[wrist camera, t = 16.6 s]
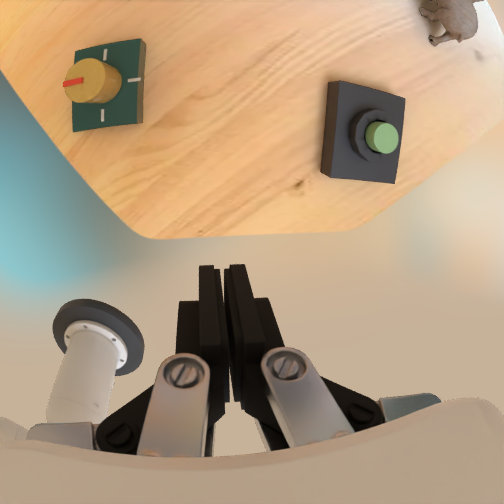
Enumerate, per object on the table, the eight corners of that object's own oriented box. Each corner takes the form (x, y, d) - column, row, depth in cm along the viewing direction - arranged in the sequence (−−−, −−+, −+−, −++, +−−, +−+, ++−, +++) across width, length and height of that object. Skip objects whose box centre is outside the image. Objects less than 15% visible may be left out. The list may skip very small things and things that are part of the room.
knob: (123, 63, 22) (105, 53, 17) (121, 100, 24) (103, 98, 19) (86, 69, 21) (64, 63, 16) (85, 106, 23) (61, 106, 18)
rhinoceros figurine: (408, 21, 23) (487, -13, 10) (398, -6, 26) (458, -35, 13) (438, 59, 26) (513, 32, 13) (425, 24, 29) (484, 0, 16)
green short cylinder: (387, 152, 30) (396, 155, 28) (363, 148, 29) (372, 151, 28) (390, 124, 28) (400, 126, 26) (366, 119, 28) (375, 120, 26)
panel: (145, 122, 28) (139, 123, 26) (80, 130, 27) (69, 132, 24) (148, 44, 24) (143, 37, 21) (82, 55, 22) (72, 51, 20)
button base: (382, 178, 36) (402, 188, 32) (320, 172, 35) (336, 181, 30) (391, 97, 31) (414, 99, 26) (328, 82, 29) (346, 79, 25)
